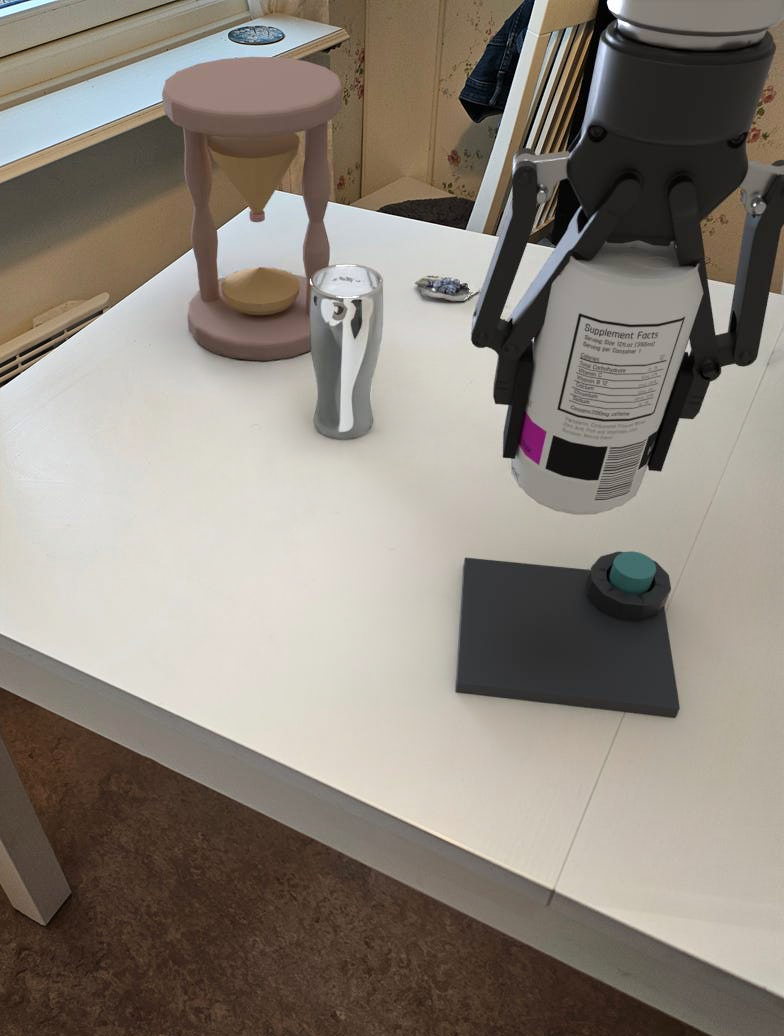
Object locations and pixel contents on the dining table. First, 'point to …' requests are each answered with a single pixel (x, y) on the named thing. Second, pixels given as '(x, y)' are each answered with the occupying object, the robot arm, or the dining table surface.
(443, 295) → the blueberries
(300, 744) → the dining table surface
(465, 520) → the dining table surface
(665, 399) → the supplement can
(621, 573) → the tare button
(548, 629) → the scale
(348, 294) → the beer glass
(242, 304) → the hourglass
